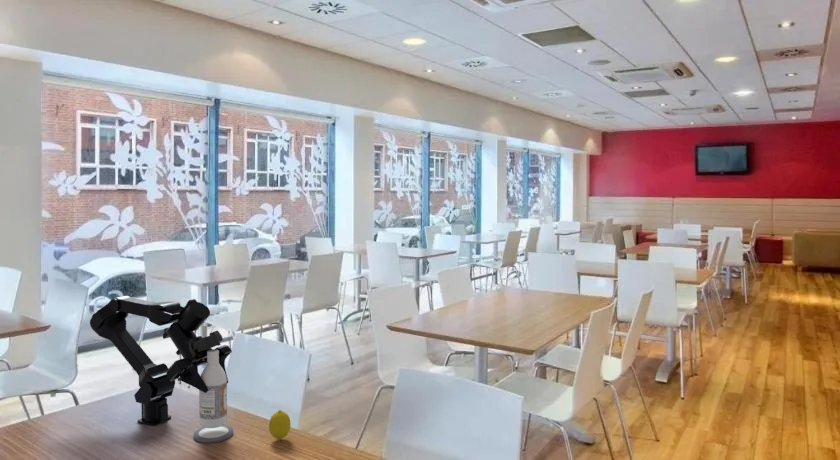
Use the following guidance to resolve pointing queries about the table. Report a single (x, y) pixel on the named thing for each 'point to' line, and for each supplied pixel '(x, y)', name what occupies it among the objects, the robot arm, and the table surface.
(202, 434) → the dock pad
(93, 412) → the table surface
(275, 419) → the lemon
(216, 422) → the bath foam
